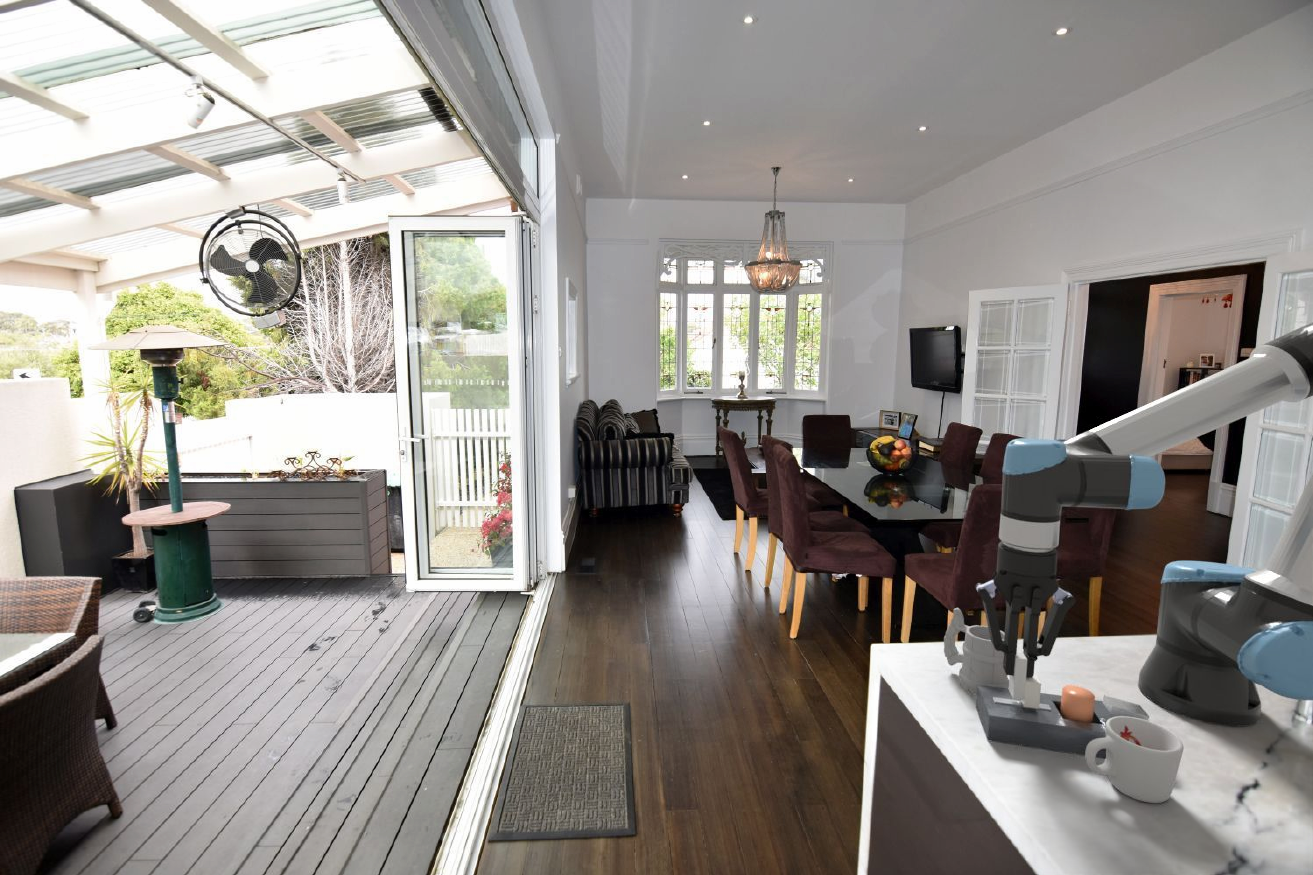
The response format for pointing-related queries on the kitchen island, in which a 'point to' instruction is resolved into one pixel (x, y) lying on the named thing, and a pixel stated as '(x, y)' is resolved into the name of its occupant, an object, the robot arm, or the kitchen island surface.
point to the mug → (975, 655)
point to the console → (1037, 722)
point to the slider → (1032, 692)
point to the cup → (1138, 758)
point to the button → (1077, 704)
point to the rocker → (1124, 708)
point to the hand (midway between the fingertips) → (1016, 694)
